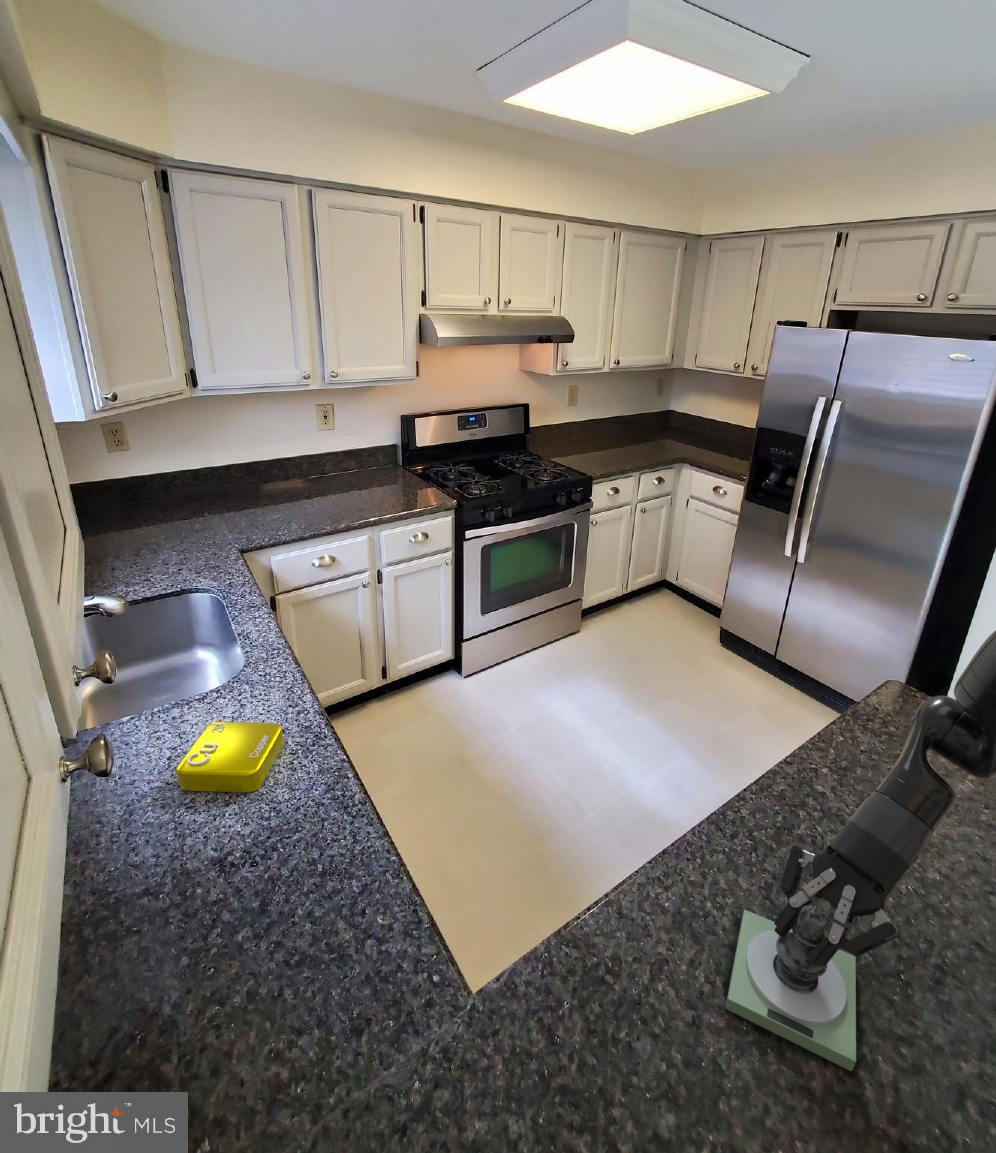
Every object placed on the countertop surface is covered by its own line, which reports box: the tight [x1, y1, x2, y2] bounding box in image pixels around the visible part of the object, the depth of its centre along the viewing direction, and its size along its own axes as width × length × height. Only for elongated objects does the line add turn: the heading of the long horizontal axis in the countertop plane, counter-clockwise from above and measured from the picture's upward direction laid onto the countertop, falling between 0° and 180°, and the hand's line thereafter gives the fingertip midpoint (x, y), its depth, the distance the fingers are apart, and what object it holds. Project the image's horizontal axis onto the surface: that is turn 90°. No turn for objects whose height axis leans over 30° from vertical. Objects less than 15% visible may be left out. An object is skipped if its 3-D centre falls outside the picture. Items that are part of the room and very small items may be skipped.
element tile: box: [175, 721, 285, 794], centre depth 113 cm, size 15×15×5 cm
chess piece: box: [773, 905, 827, 993], centre depth 74 cm, size 6×6×12 cm
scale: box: [724, 909, 857, 1072], centre depth 77 cm, size 14×14×3 cm
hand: (794, 949), depth 73 cm, fingers open, 3 cm apart
